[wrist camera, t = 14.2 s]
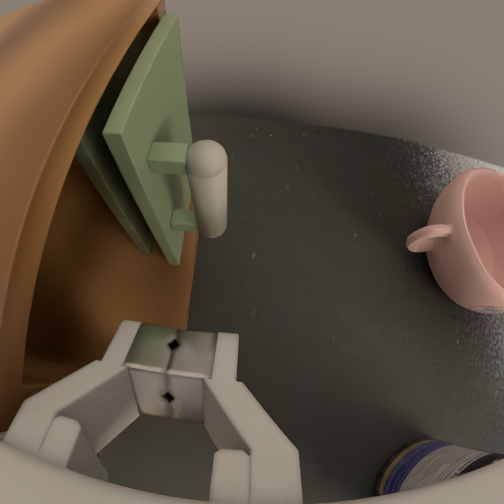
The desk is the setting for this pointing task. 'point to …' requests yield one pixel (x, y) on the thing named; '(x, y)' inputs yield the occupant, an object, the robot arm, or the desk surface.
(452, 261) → the mug
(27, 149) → the cupboard
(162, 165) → the sliding door
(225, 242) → the desk surface
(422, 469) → the pill bottle
